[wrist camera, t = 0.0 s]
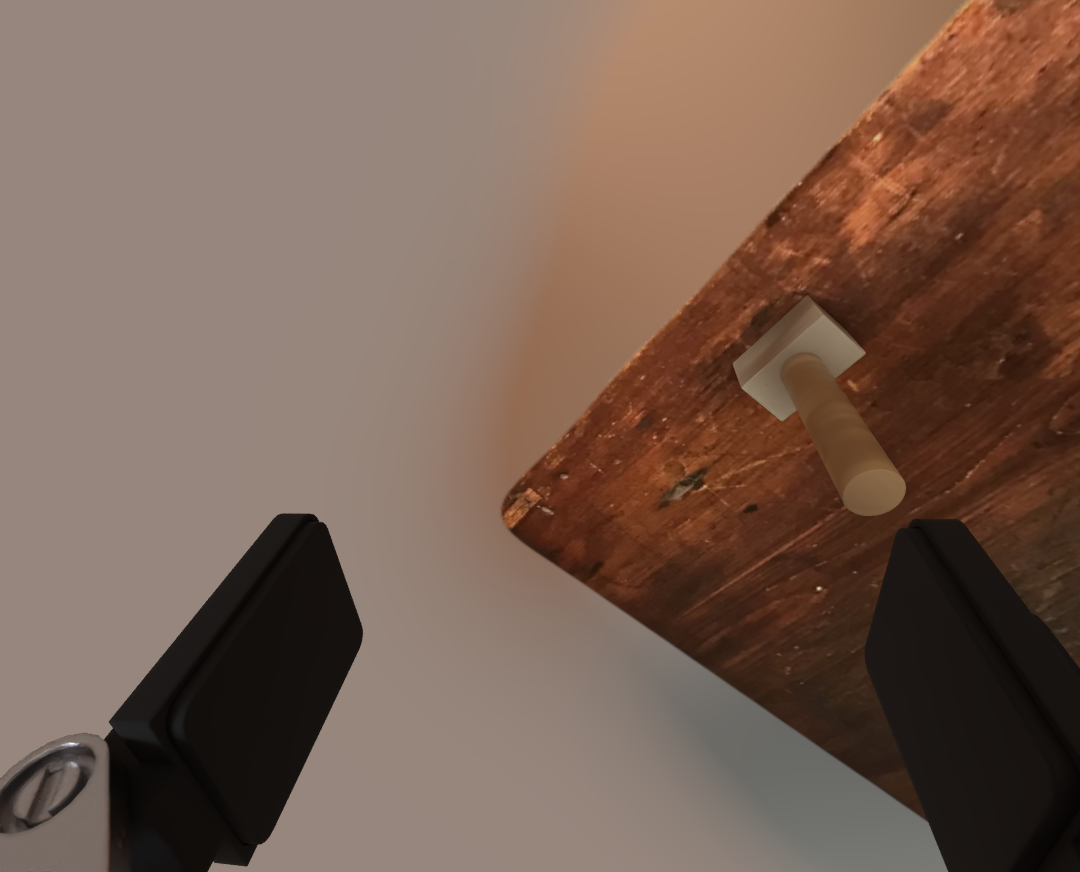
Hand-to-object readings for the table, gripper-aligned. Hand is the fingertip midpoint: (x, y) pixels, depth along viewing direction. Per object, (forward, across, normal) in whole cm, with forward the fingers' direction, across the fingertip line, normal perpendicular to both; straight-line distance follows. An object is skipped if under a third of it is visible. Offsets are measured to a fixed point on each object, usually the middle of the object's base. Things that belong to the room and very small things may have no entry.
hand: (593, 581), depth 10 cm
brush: (+23, -9, +6) cm, 26 cm away
